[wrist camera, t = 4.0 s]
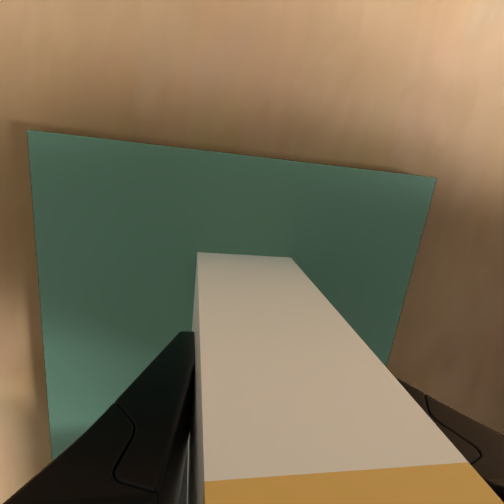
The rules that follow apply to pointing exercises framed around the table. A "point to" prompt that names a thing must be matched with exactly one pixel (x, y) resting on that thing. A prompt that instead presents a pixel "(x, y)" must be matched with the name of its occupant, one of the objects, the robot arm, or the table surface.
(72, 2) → the table surface
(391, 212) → the board
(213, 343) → the plug
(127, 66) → the table surface
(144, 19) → the table surface
